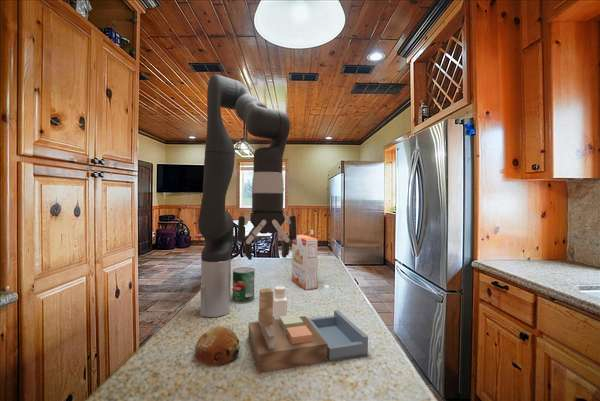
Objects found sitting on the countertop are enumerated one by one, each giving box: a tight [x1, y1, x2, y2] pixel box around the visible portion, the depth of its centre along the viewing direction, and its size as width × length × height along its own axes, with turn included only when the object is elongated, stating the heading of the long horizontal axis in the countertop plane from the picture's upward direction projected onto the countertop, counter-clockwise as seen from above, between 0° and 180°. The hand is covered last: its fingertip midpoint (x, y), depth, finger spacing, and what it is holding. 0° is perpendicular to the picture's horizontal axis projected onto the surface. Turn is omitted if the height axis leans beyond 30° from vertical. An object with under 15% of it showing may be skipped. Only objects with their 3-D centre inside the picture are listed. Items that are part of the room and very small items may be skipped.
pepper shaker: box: [273, 285, 288, 320], centre depth 90 cm, size 4×4×10 cm
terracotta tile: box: [286, 325, 312, 344], centre depth 69 cm, size 5×5×2 cm
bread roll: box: [194, 326, 241, 366], centre depth 69 cm, size 10×10×8 cm
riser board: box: [248, 315, 328, 373], centre depth 72 cm, size 16×16×4 cm
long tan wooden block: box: [257, 287, 274, 350], centre depth 70 cm, size 3×14×11 cm, turn 18°
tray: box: [307, 309, 369, 362], centre depth 76 cm, size 10×17×4 cm, turn 18°
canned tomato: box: [231, 266, 256, 304], centre depth 105 cm, size 8×8×11 cm
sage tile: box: [280, 314, 303, 331], centre depth 76 cm, size 5×5×2 cm
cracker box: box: [291, 234, 319, 291], centre depth 124 cm, size 14×6×21 cm, turn 25°
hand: (267, 258), depth 70 cm, fingers open, 8 cm apart
